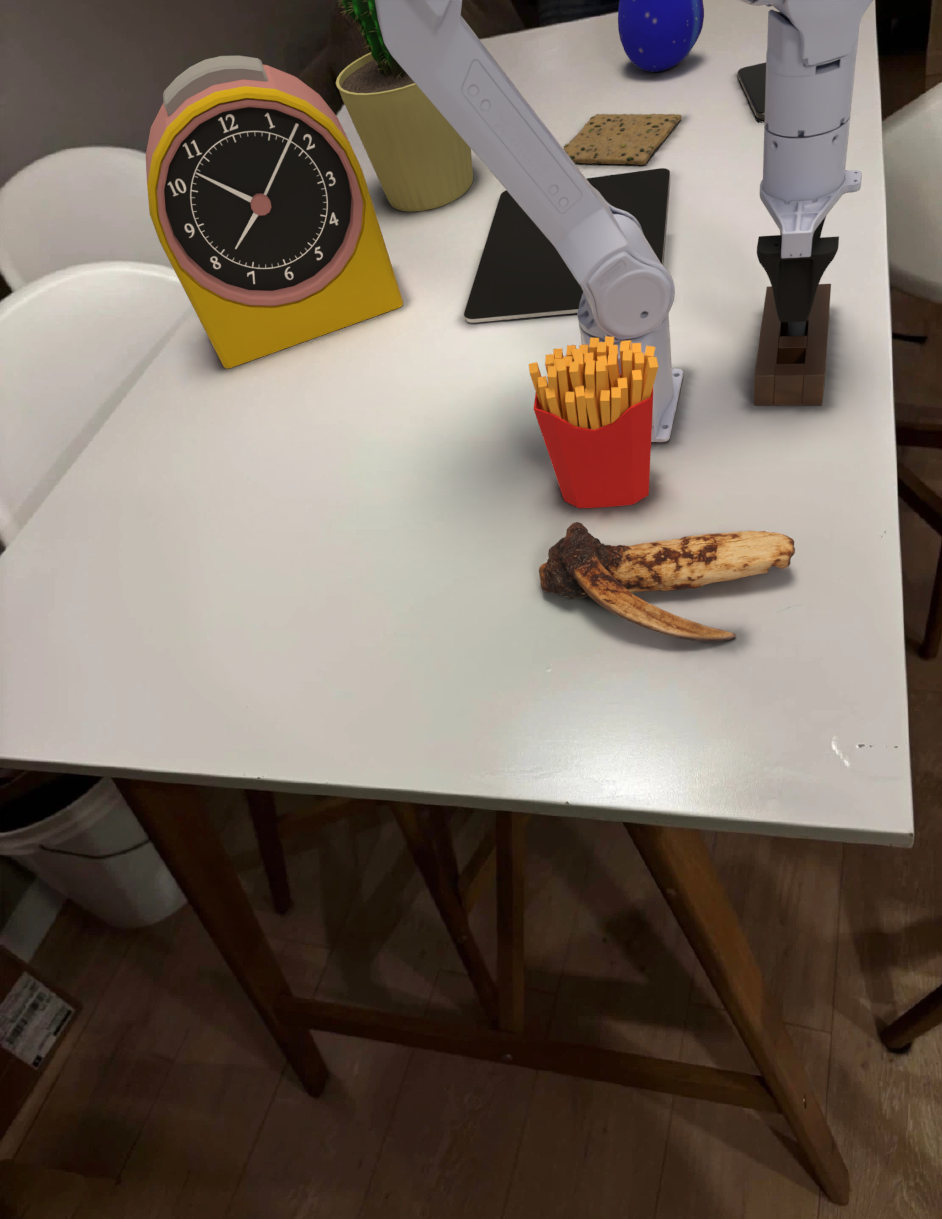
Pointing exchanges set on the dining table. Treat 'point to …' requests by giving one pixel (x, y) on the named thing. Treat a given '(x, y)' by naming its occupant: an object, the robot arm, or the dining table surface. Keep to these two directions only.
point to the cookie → (620, 138)
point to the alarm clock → (263, 209)
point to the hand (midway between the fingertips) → (796, 291)
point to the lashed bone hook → (658, 572)
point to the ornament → (659, 31)
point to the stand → (792, 355)
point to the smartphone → (754, 86)
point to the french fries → (598, 420)
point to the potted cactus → (401, 125)
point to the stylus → (796, 328)
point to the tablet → (554, 251)
